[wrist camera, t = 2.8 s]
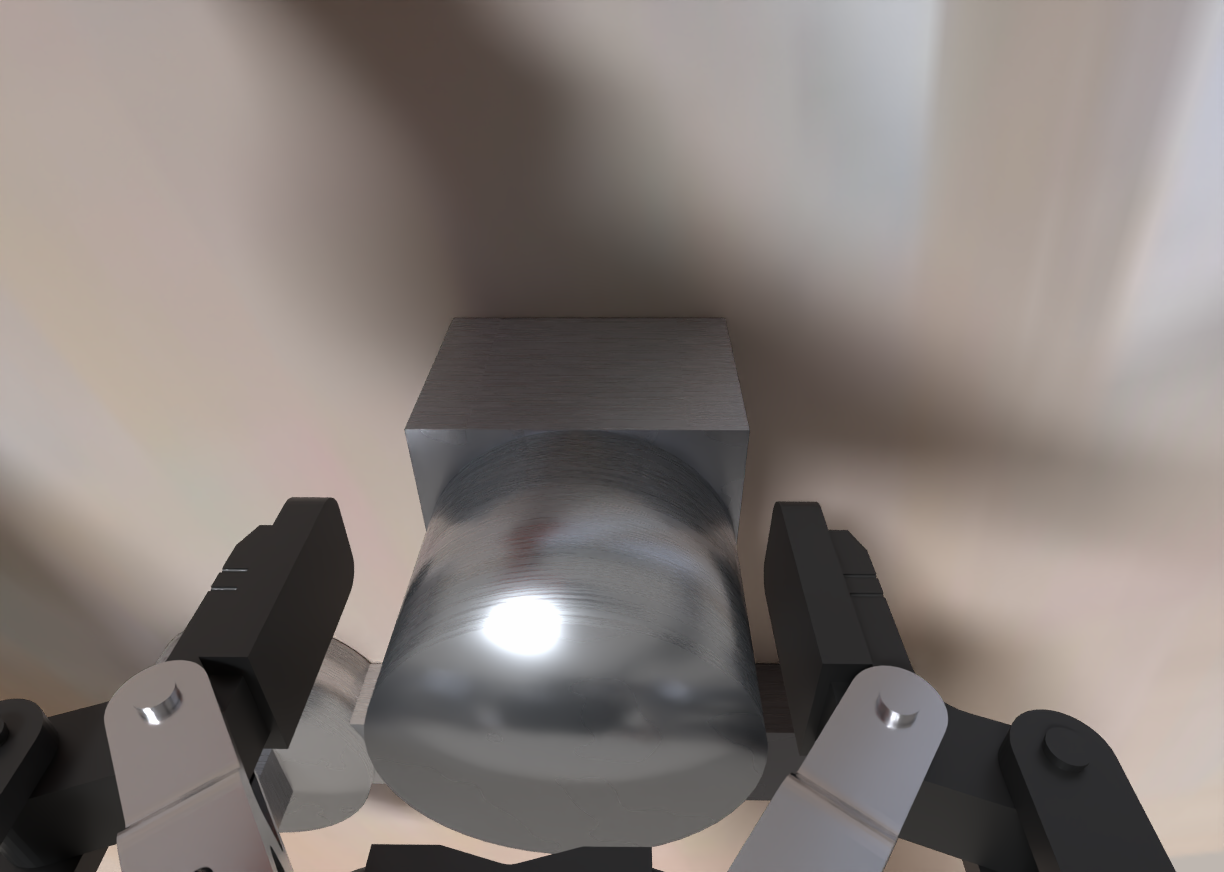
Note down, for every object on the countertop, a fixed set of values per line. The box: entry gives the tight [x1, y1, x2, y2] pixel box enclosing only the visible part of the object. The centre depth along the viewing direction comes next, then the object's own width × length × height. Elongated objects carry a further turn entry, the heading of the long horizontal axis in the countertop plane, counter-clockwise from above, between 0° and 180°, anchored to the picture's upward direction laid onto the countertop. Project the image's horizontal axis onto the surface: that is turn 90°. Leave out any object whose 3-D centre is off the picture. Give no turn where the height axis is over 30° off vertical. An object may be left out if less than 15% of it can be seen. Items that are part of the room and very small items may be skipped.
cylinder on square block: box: [364, 318, 768, 854], centre depth 14 cm, size 6×6×8 cm
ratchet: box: [155, 631, 807, 832], centre depth 20 cm, size 22×7×6 cm, turn 91°
